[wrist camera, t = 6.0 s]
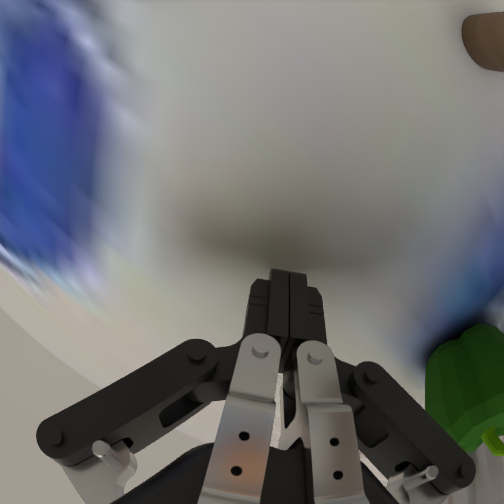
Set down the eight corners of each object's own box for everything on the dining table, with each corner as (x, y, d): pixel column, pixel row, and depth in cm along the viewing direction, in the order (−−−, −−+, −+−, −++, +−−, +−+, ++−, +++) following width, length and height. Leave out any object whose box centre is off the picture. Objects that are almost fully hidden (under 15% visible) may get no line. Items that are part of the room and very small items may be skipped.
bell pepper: (424, 388, 20) (443, 489, 12) (397, 350, 17) (424, 490, 9) (504, 343, 16) (539, 440, 8) (501, 288, 13) (563, 416, 5)
